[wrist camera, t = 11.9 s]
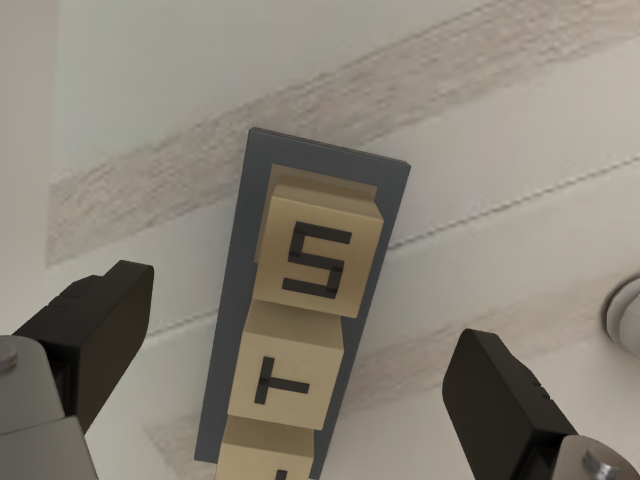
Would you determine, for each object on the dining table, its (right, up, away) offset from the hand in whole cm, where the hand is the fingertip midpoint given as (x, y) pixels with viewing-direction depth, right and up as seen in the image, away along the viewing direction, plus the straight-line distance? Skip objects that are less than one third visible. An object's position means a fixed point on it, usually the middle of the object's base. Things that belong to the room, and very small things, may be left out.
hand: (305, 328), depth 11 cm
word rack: (-1, -2, +11) cm, 11 cm away
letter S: (0, +3, +8) cm, 9 cm away
